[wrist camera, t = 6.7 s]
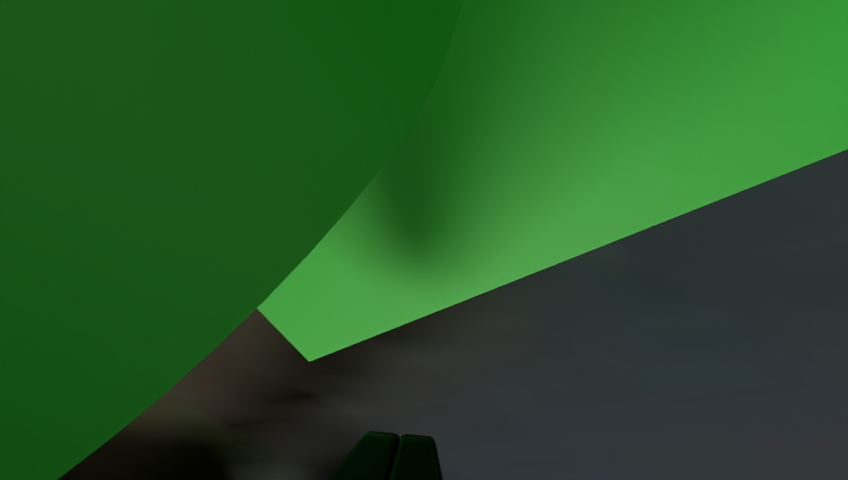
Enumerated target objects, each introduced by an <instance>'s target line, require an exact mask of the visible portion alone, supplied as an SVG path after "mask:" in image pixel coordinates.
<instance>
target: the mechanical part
mask: <svg viewBox="0 0 848 480" xmlns="http://www.w3.org/2000/svg"><path fill="white" fill-rule="evenodd" d="M846 149H848V0H0V480H57V479H59V478H60V477H61V476H63V475H64V474H65V473H67V472H68V471H69V470H71V469H72V468H73V467H75V466H76V465H77V464H78V463H80V462H81V461H82V460H84V459H85V458H86V457H88V456H89V455H90V454H91V453H93V452H94V451H95V450H97V449H98V448H99V447H101V446H102V445H103V444H105V443H106V442H107V441H108V440H110V439H111V438H112V437H114V436H115V435H116V434H117V433H118V432H120V431H121V430H122V429H123V428H124V427H126V426H127V425H128V424H129V423H130V422H132V421H133V420H134V419H135V418H136V417H138V416H139V415H140V414H141V413H142V412H144V411H145V410H146V409H147V408H148V407H150V406H151V405H152V404H153V403H154V402H156V401H157V400H158V399H159V398H160V397H162V396H163V395H164V394H165V393H166V392H167V391H168V390H170V389H171V388H172V387H173V386H174V385H175V384H176V383H177V382H178V381H180V380H181V379H182V378H183V377H184V376H185V375H186V374H187V373H188V372H190V371H191V370H192V369H193V368H194V367H195V366H196V365H197V364H198V363H200V362H201V361H202V360H203V359H204V358H205V357H206V356H207V355H208V354H210V353H211V352H212V351H213V350H214V349H215V348H216V347H217V346H218V345H219V344H220V343H221V342H222V341H223V340H224V339H226V338H227V337H228V336H229V335H230V334H231V333H232V332H233V331H234V330H235V329H236V328H237V327H238V326H239V325H240V324H241V323H242V322H243V321H244V320H245V319H246V318H247V317H248V316H249V315H250V314H251V313H252V312H253V311H254V310H255V309H256V308H257V309H258V310H259V311H260V312H261V313H262V314H263V315H264V316H265V317H266V318H267V319H268V320H269V321H270V322H271V323H272V324H273V325H274V326H275V327H276V328H277V329H278V330H279V331H280V332H281V333H282V334H283V335H284V336H285V338H286V339H287V340H288V341H289V342H290V343H291V344H292V345H293V346H294V347H295V348H296V349H297V350H298V351H299V352H300V353H301V354H302V355H303V356H304V357H305V358H306V359H307V360H308V361H309V362H310V361H312V360H315V359H317V358H320V357H322V356H325V355H327V354H330V353H333V352H335V351H338V350H340V349H343V348H345V347H348V346H350V345H353V344H355V343H358V342H360V341H363V340H365V339H368V338H371V337H373V336H376V335H378V334H381V333H383V332H386V331H388V330H391V329H393V328H396V327H398V326H401V325H403V324H406V323H409V322H411V321H414V320H416V319H419V318H421V317H424V316H426V315H429V314H431V313H434V312H436V311H439V310H441V309H444V308H446V307H449V306H452V305H454V304H457V303H459V302H462V301H464V300H467V299H469V298H472V297H474V296H477V295H479V294H482V293H484V292H487V291H490V290H492V289H495V288H497V287H500V286H502V285H505V284H507V283H510V282H512V281H515V280H517V279H520V278H522V277H525V276H527V275H530V274H533V273H535V272H538V271H540V270H543V269H545V268H548V267H550V266H553V265H555V264H558V263H560V262H563V261H565V260H568V259H571V258H573V257H576V256H578V255H581V254H583V253H586V252H588V251H591V250H593V249H596V248H598V247H601V246H603V245H606V244H609V243H611V242H614V241H616V240H619V239H621V238H624V237H626V236H629V235H631V234H634V233H636V232H639V231H641V230H644V229H646V228H649V227H652V226H654V225H657V224H659V223H662V222H664V221H667V220H669V219H672V218H674V217H677V216H679V215H682V214H684V213H687V212H690V211H692V210H695V209H697V208H700V207H702V206H705V205H707V204H710V203H712V202H715V201H717V200H720V199H722V198H725V197H727V196H730V195H733V194H735V193H738V192H740V191H743V190H745V189H748V188H750V187H753V186H755V185H758V184H760V183H763V182H765V181H768V180H771V179H773V178H776V177H778V176H781V175H783V174H786V173H788V172H791V171H793V170H796V169H798V168H801V167H803V166H806V165H809V164H811V163H814V162H816V161H819V160H821V159H824V158H826V157H829V156H831V155H834V154H836V153H839V152H841V151H844V150H846Z"/></svg>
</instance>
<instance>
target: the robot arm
mask: <svg viewBox="0 0 848 480" xmlns="http://www.w3.org/2000/svg"><path fill="white" fill-rule="evenodd" d="M328 480H443V478H442V473H441V468H440V463H439V458H438V453H437V448H436V443H435V440H434V439H433V438H432V437H431V436H422V435H410V434H406V435H403V436H401V438H400V437H399V435H397V434H395V433H386V432H374V431H371V432H367V433H366V434H364V435H363V436H362V437H361V438H360V440H359V441H358V442H357V443H356V445H355V446H354V447H353V448H352V450H351V451H350V452H349V454H348V455H347V456H346V457H345V459H344V460H343V461H342V462H341V464H340V465H339V466H338V467H337V469H336V470H335V471H334V473H333V474H332V475H331V476H330V478H329V479H328Z"/></svg>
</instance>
